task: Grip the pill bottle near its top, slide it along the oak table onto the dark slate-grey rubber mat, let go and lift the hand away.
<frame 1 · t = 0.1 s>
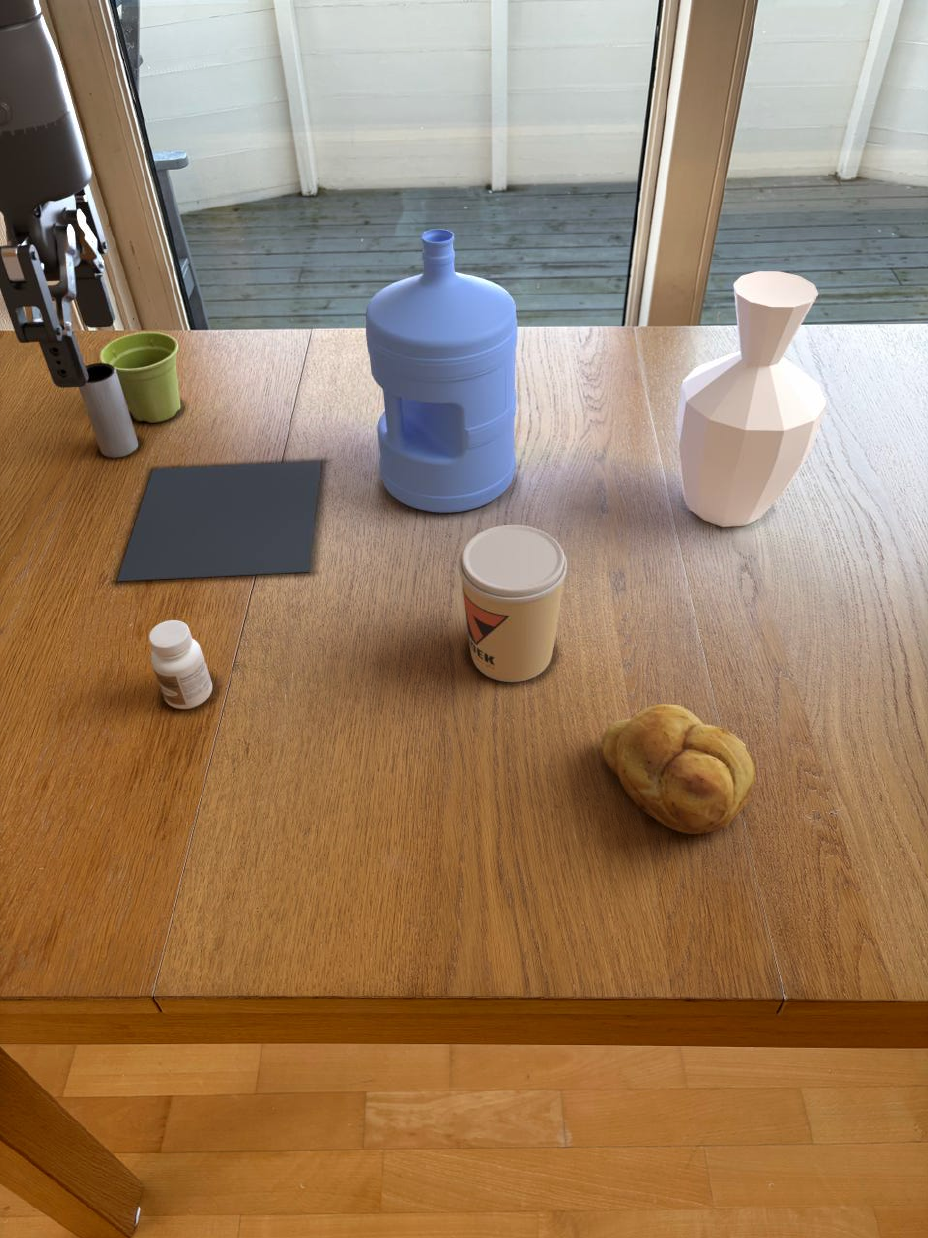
hand: (87, 353, 68), 32 cm above the table, tool pointing down, fingers open, 8 cm apart
plant pot: (156, 412, 122), on the table
coffee cup: (511, 654, 90), on the table
white cylinder: (120, 448, 116), on the table
water jug: (448, 476, 111), on the table
pill bottle: (189, 694, 87), on the table
mat: (226, 517, 106), on the table
bread roll: (671, 786, 79), on the table
vase: (728, 505, 106), on the table
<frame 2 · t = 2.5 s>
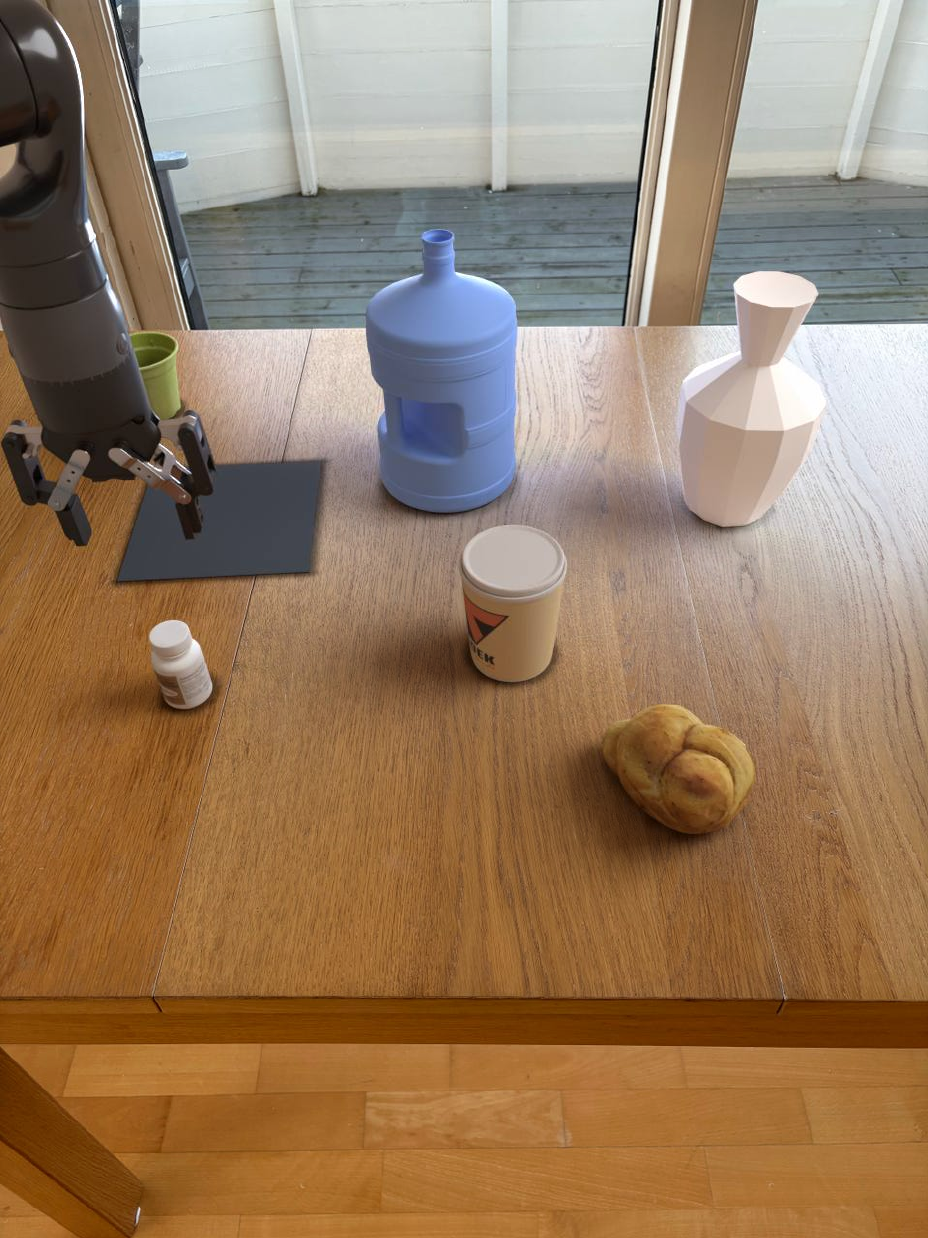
hand: (138, 536, 75), 18 cm above the table, tool pointing down, fingers open, 8 cm apart
nothing on the table moved.
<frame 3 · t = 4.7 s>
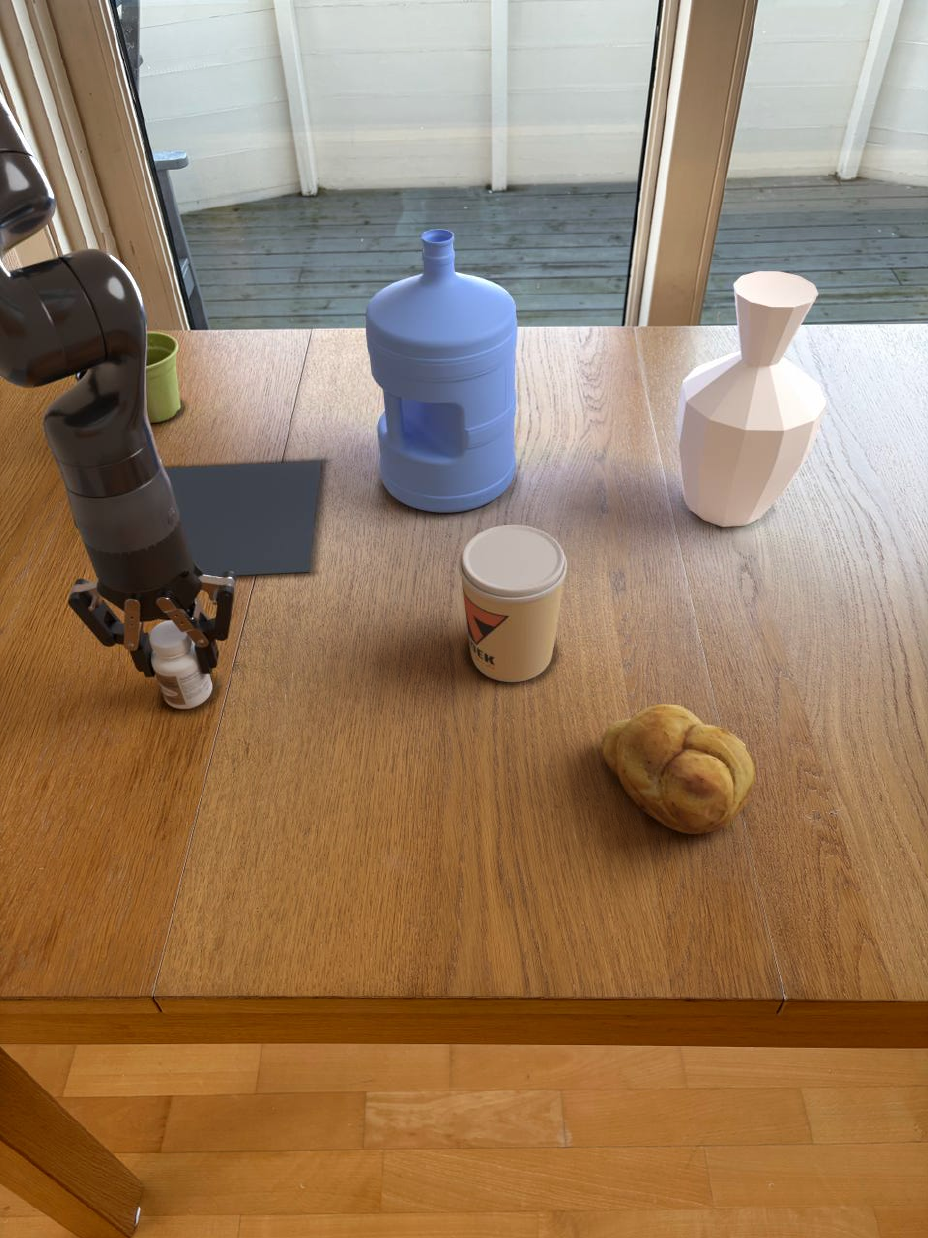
hand: (180, 668, 85), 3 cm above the table, tool pointing down, fingers closed on pill bottle, 4 cm apart
pill bottle: (189, 694, 87), on the table, touching gripper
everything else where it was.
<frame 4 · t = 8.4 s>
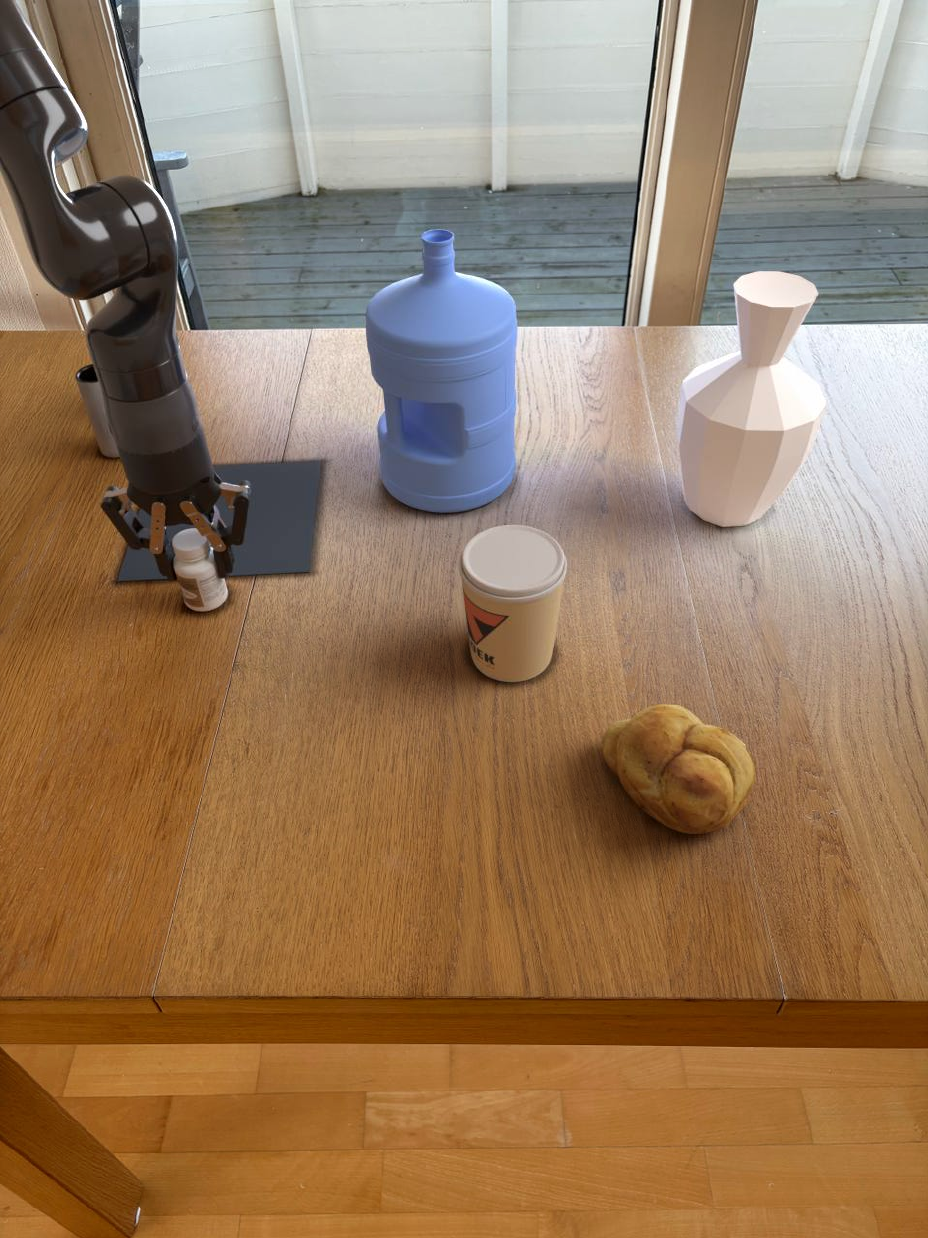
hand: (199, 573, 94), 3 cm above the table, tool pointing down, fingers closed on pill bottle, 4 cm apart
pill bottle: (206, 599, 96), on the table, touching gripper
everything else where it was.
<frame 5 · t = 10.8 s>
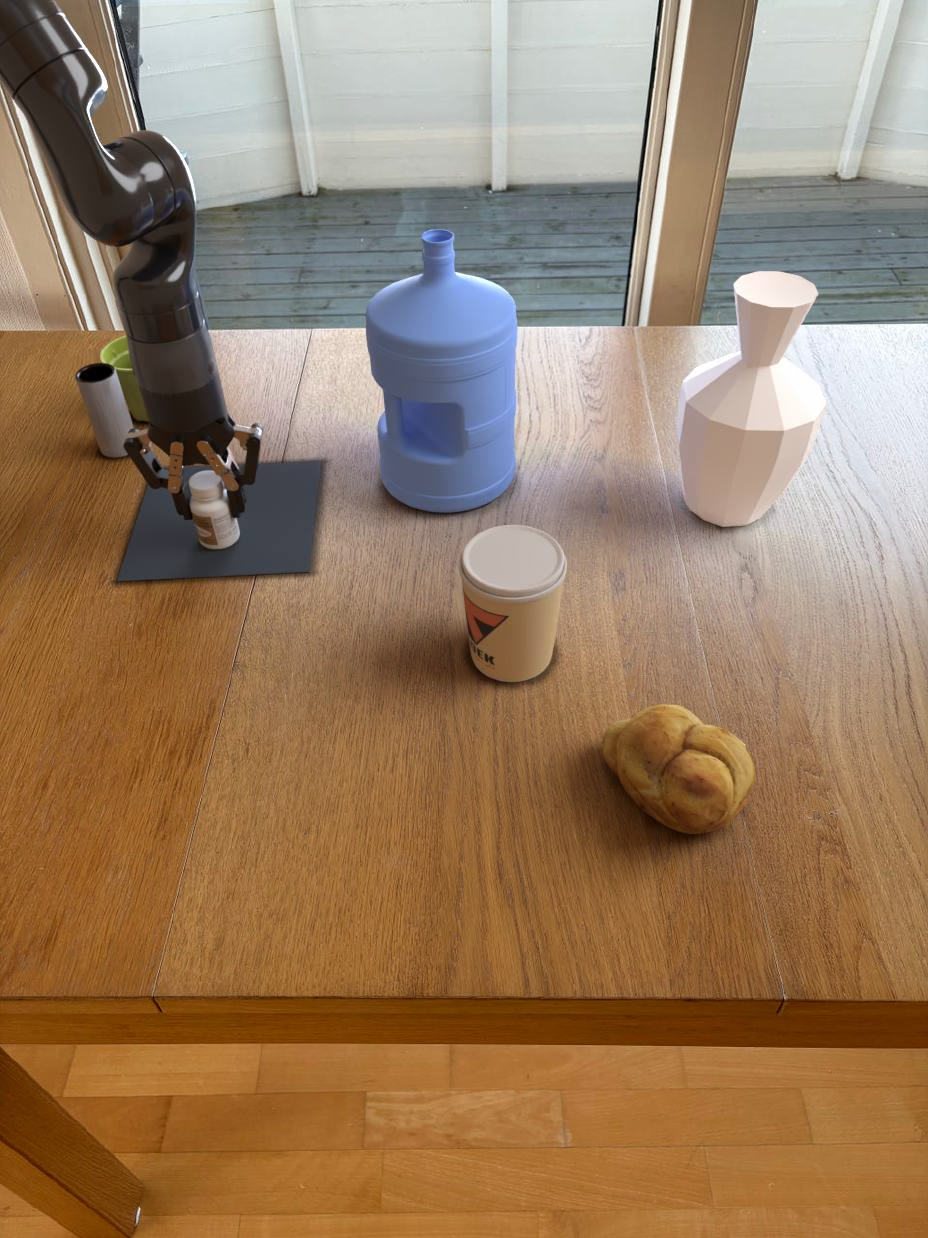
hand: (213, 513, 101), 3 cm above the table, tool pointing down, fingers closed on pill bottle, 4 cm apart
pill bottle: (220, 539, 103), resting on mat, touching gripper
everything else where it was.
when the fingers open (3 cm above the table, at t = 12.2 s): pill bottle stays where it is, resting on mat.
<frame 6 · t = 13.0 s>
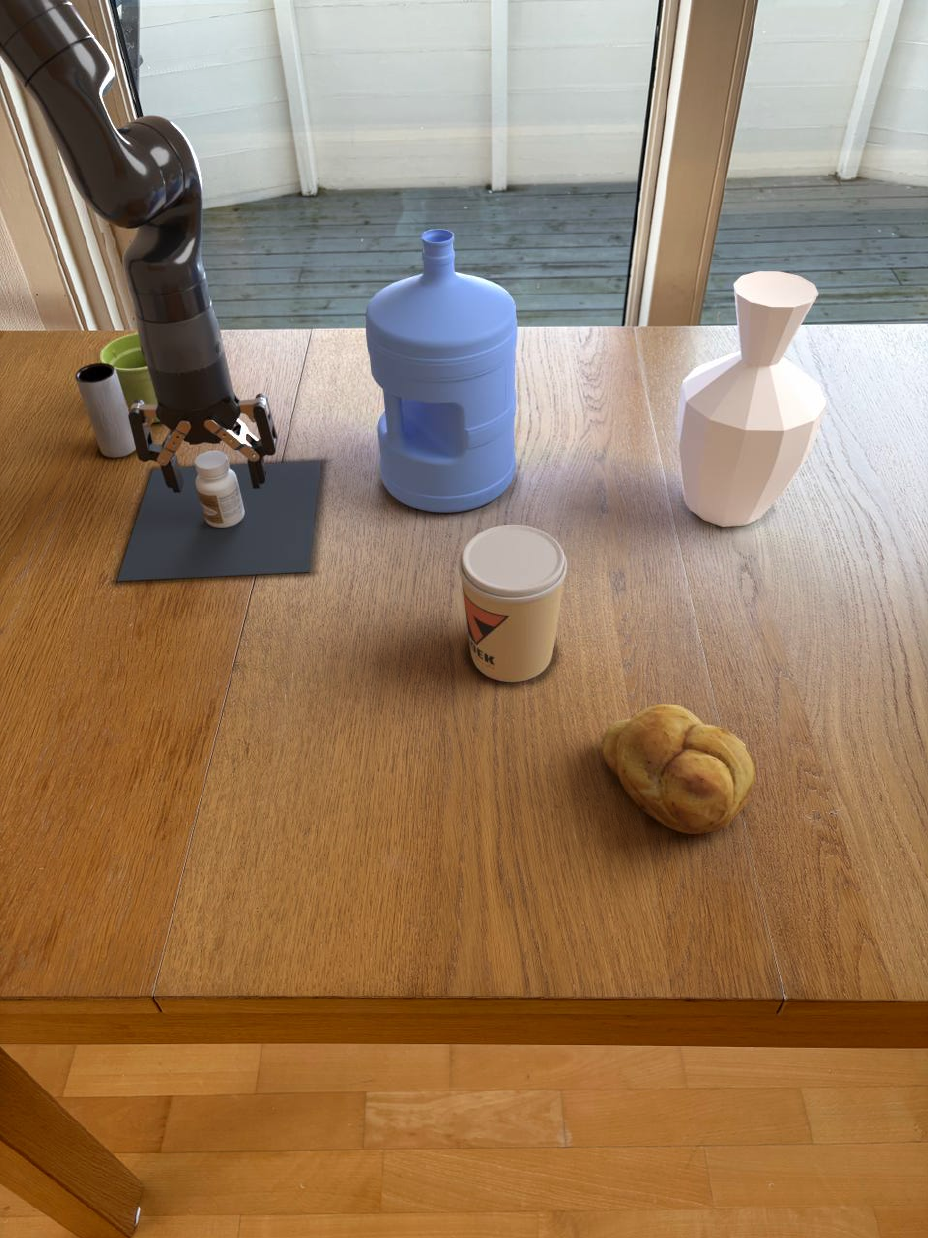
hand: (218, 486, 103), 4 cm above the table, tool pointing down, fingers open, 8 cm apart
pill bottle: (225, 518, 106), resting on mat
everything else where it was.
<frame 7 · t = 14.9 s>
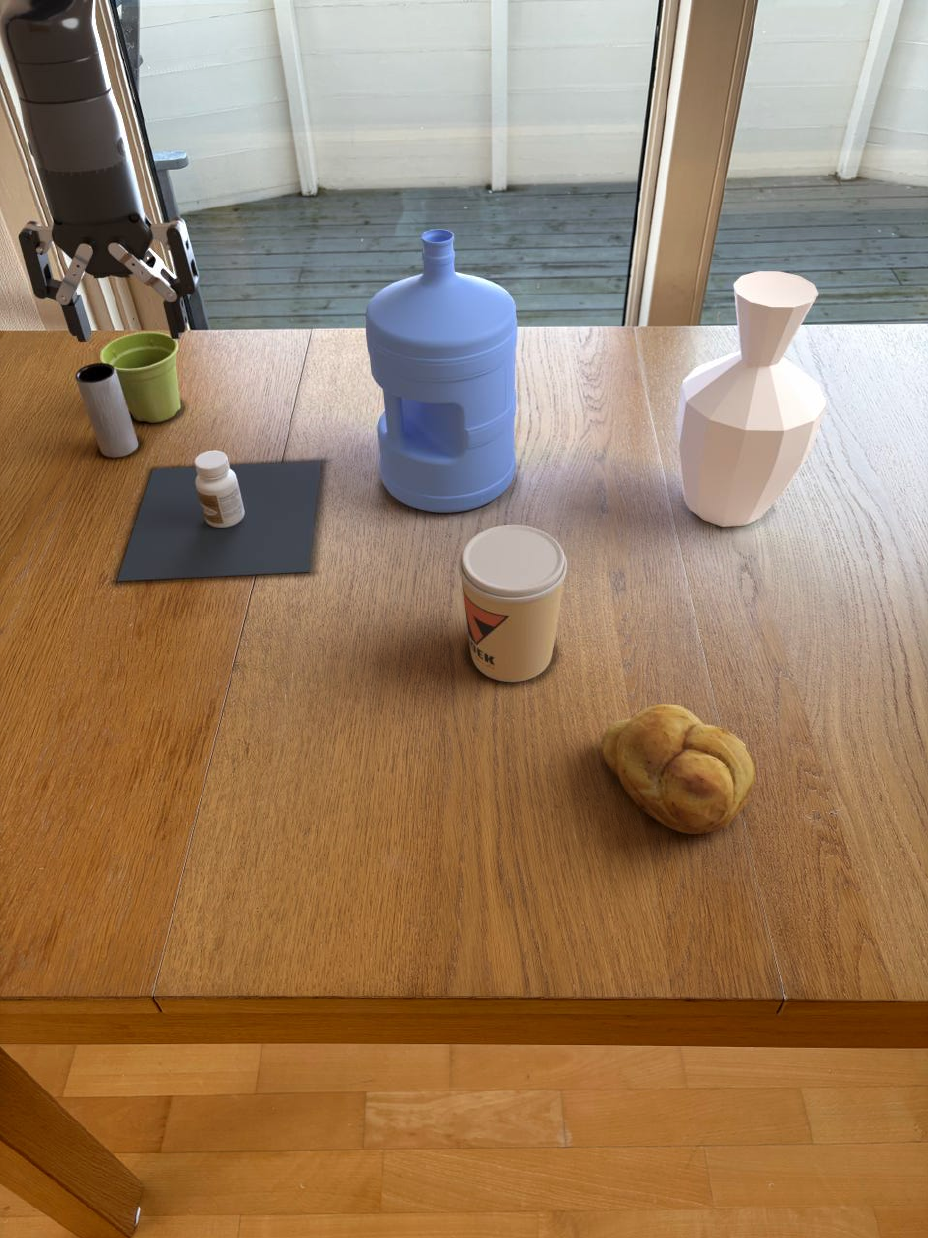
hand: (131, 336, 88), 23 cm above the table, tool pointing down, fingers open, 8 cm apart
nothing on the table moved.
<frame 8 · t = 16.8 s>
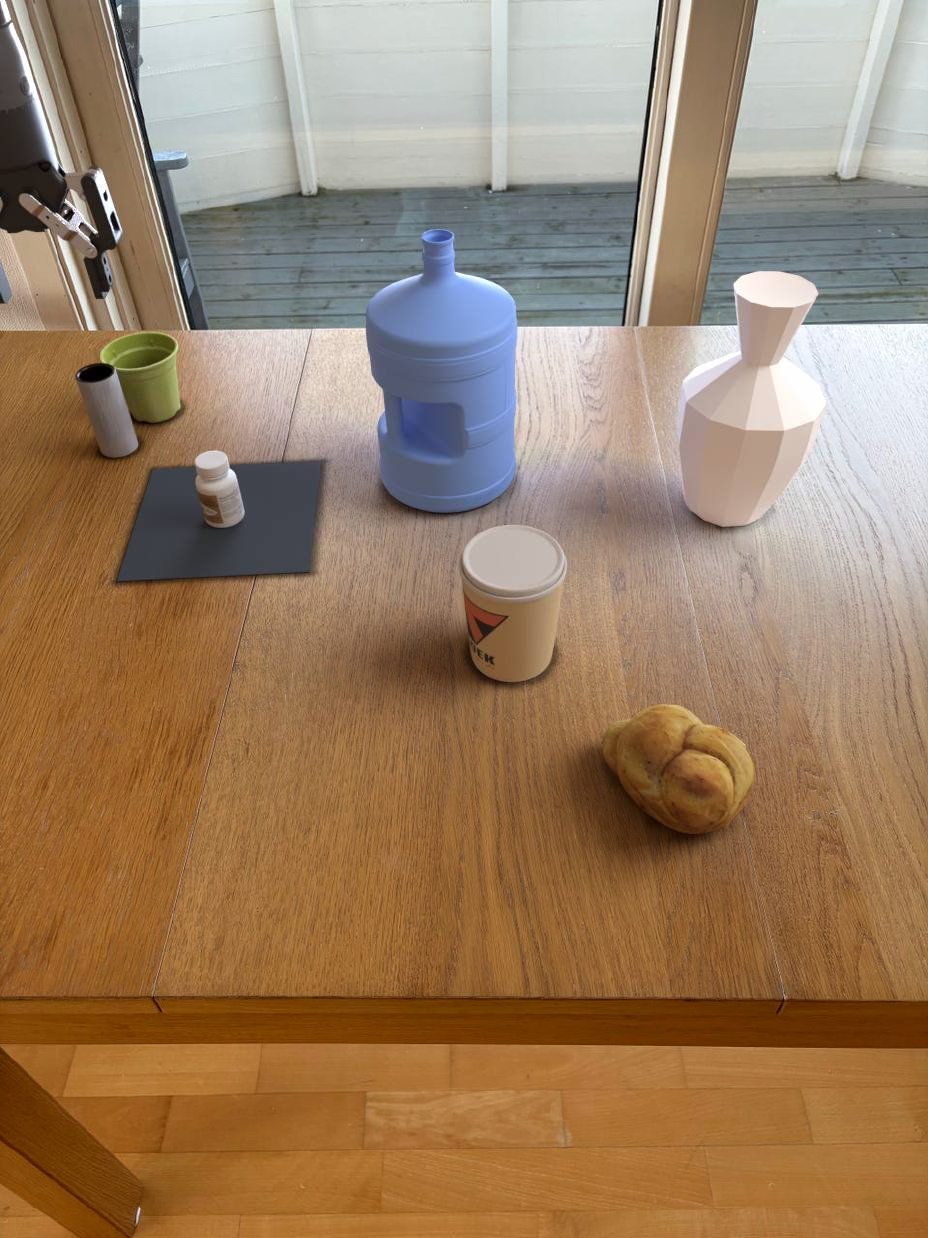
hand: (53, 297, 83), 28 cm above the table, tool pointing down, fingers open, 8 cm apart
nothing on the table moved.
at the end: pill bottle inside the target area on the mat (0.1 cm from its centre), point 0.0 cm above the mat's base; pill bottle tilted 0°; pill bottle moved 26.0 cm from its start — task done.
